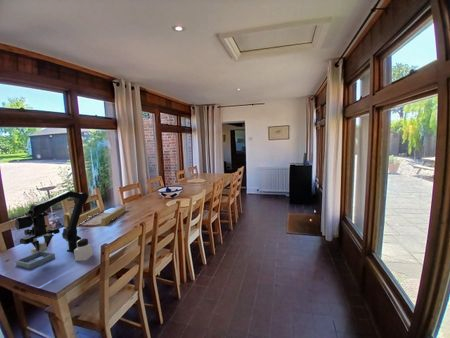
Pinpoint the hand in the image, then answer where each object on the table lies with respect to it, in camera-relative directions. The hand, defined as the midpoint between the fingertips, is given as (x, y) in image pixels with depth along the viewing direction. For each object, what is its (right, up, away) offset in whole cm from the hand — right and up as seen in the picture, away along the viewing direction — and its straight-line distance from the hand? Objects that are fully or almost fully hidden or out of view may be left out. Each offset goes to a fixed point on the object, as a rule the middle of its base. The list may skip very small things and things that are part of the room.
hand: (42, 249), depth 136 cm
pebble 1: (-14, -8, +12) cm, 20 cm away
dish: (-6, -9, +2) cm, 11 cm away
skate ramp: (-10, -2, +77) cm, 78 cm away
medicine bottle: (+23, -8, +5) cm, 24 cm away
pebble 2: (0, -1, 0) cm, 1 cm away
